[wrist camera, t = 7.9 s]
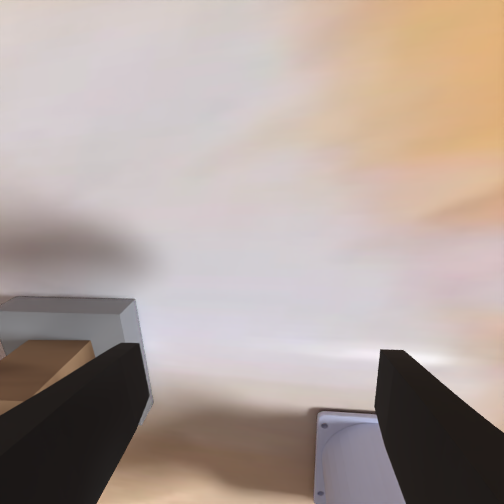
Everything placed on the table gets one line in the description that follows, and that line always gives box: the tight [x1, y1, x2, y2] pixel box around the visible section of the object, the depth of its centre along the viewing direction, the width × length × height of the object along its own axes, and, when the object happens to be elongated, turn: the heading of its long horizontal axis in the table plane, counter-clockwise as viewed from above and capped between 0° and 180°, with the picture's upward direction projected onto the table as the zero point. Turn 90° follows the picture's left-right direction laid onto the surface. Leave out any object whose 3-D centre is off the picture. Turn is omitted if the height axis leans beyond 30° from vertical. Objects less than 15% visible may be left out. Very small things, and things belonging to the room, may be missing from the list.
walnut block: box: [0, 340, 95, 415], centre depth 18 cm, size 4×4×5 cm
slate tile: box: [0, 297, 154, 425], centre depth 21 cm, size 9×9×2 cm
